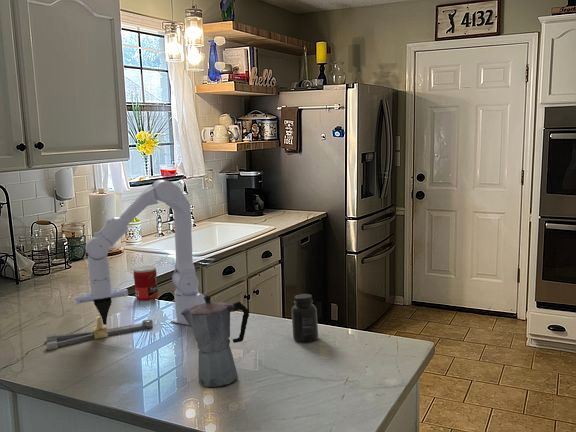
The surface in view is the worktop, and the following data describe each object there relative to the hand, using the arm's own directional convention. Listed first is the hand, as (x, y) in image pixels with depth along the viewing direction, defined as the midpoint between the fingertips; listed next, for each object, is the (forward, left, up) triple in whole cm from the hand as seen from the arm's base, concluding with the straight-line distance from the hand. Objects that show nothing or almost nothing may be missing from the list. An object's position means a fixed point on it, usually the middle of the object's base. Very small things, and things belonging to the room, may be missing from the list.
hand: (104, 323), depth 167 cm
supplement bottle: (-56, -20, -4) cm, 60 cm away
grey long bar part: (+1, +1, -3) cm, 4 cm away
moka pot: (-51, +11, -4) cm, 52 cm away
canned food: (+18, -34, -4) cm, 39 cm away
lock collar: (+1, +1, -3) cm, 4 cm away
